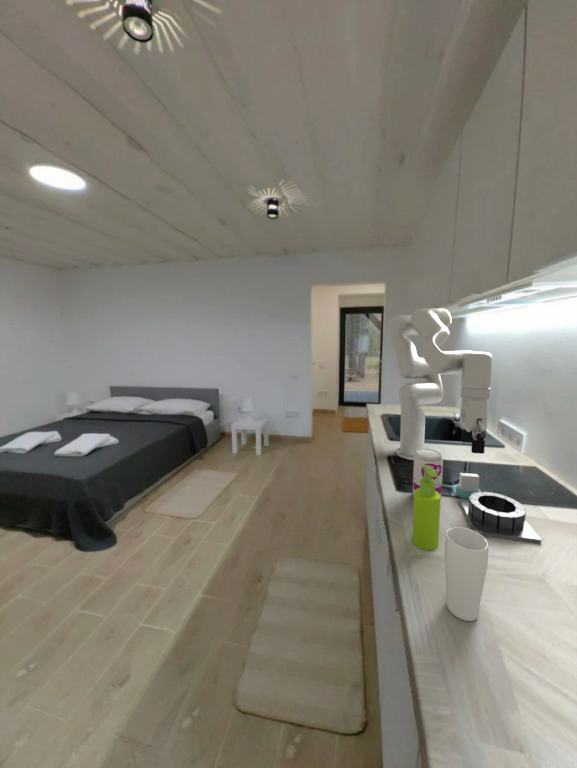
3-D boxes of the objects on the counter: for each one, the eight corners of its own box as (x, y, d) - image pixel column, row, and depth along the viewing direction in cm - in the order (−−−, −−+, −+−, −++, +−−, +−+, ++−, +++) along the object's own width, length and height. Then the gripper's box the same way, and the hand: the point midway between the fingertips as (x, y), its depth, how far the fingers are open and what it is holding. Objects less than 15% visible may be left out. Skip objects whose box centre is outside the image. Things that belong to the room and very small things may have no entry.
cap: (453, 488, 100) (454, 469, 99) (476, 490, 98) (478, 470, 97) (459, 499, 93) (460, 478, 92) (484, 502, 92) (486, 481, 90)
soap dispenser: (417, 552, 71) (420, 474, 68) (409, 533, 78) (412, 461, 75) (443, 554, 71) (447, 475, 68) (433, 535, 77) (437, 462, 74)
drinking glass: (448, 624, 54) (453, 549, 51) (437, 592, 60) (440, 524, 58) (490, 629, 53) (496, 553, 50) (473, 596, 59) (478, 527, 57)
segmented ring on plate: (458, 501, 92) (459, 486, 91) (511, 507, 88) (512, 491, 88) (476, 535, 77) (477, 517, 76) (540, 543, 73) (542, 524, 72)
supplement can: (444, 506, 90) (446, 459, 88) (415, 503, 92) (417, 457, 89) (436, 492, 98) (439, 448, 96) (410, 490, 100) (411, 447, 97)
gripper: (453, 388, 100) (451, 437, 102) (470, 398, 83) (467, 457, 86) (479, 388, 98) (476, 439, 100) (501, 398, 81) (497, 458, 84)
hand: (472, 447), depth 93 cm, fingers open, 9 cm apart
